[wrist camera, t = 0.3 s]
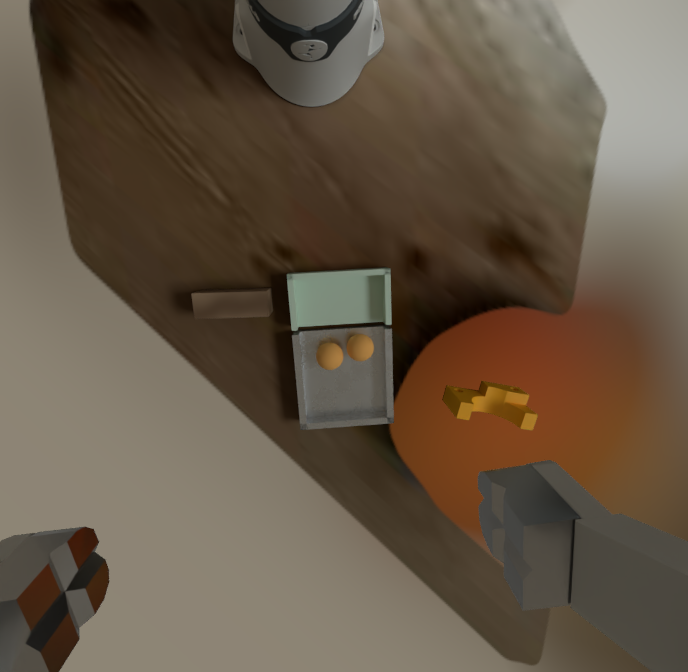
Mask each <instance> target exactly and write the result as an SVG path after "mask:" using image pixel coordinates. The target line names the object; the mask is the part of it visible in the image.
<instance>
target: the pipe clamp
mask: <svg viewBox="0 0 688 672" xmlns="http://www.w3.org/2000/svg"><path fill="white" fill-rule="evenodd" d="M528 398H529V395H528V394H527V393H525V392H524V391H523V390H522V389H520V388H519V387H515V386H509V385H503V384H497V383H491V382H486V381H481V384H480V387H479V391H478V390H472V389H466V388H460V387H454V386H448V385H446V388H445V392H444V395H443V399H442V400H443V401H444V403H445V404H446V405H447V406H448V408H449V409H450V410H451V412H452V413H453V414H454V416H455V417H456V418H459V419H465V420H469V419H470V415H471V412H472V411H480V412H486V413H490V414H494V415H497V416H499V417H502V418H504V419H507V420H508V421H510V422H512V423H514V424H515V425H517V426H518V427H519V428H521V429H527V430H533V428H534V425H535V422H536V419H537V416H538V414H536V413H535V412H534V411H532V410H531V409H530V408H529V407H527V406H526V404H527V401H528Z"/></svg>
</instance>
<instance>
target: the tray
mask: <svg viewBox="0 0 688 672" xmlns="http://www.w3.org/2000/svg"><path fill="white" fill-rule="evenodd" d="M287 285H288V295H289V306H290V317H291V328H292V331H297V330H298V327H305V326H321V325H337V324H353V323H369V322H384V323H385V324H386V325H391V276H390V268H387V267H385V268H367V269H349V270H332V271H314V272H297V273H288V274H287Z"/></svg>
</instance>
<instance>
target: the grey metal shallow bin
mask: <svg viewBox="0 0 688 672" xmlns="http://www.w3.org/2000/svg"><path fill="white" fill-rule="evenodd" d="M356 334H364V335H367V336H368V337H369V338H370V339H371V340H372V342H373V344H374V351H373V354H372V355H371V357H370V358H369V359H367V360H365V361H355V360H353V359H352V358H351V357H350V356H349V355H348V353H347V343H348V341H349V339H350V338H351V337H352V336H354V335H356ZM292 341H293V352H294V363H295V374H296V385H297V396H298V407H299V417H300V428H301V430H307V429H320V428H334V427H347V426H361V425H374V424H388V423H394V415H393V364H392V329H391V327H390V326H389V325H386V324H385V325H369V326H353V327H337V328H321V329H306V330H297V331H293V334H292ZM325 343H335V344H337V345H338V346H339V347H340V348H341V349H342V351H343V361H342V363H341V365H340V366H339V367H338V368H336V369H333V370H326V369H324V368H322V367H321V366H320V365H319V364H318V362H317V360H316V353H317V350H318V348H319V347H320V346H321V345H323V344H325Z"/></svg>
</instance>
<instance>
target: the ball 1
mask: <svg viewBox="0 0 688 672" xmlns="http://www.w3.org/2000/svg"><path fill="white" fill-rule="evenodd" d="M316 360H317V362H318V364H319V365H320V366H321V367H322V368H324V369H326V370H333V369H336V368H338V367H339V366H340V365H341V363H342V361H343V351H342V349H341V348H340V347H339V346H338V345H337V344H335V343H325V344H323V345H321V346H320V347H319V348H318V350H317V353H316Z"/></svg>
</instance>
